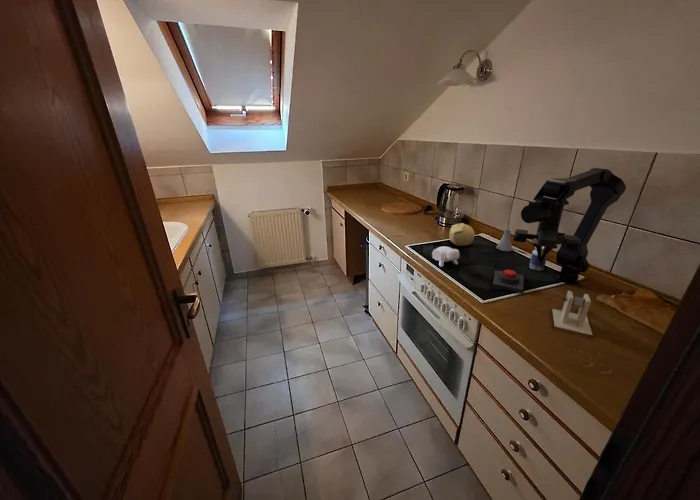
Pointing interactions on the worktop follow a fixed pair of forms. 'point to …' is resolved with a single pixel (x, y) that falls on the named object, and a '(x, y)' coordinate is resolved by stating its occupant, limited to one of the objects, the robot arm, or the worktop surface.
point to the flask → (505, 241)
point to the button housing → (508, 282)
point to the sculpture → (461, 234)
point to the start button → (509, 273)
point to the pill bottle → (537, 261)
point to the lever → (577, 301)
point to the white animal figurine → (445, 255)
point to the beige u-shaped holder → (573, 316)
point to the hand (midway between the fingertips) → (539, 261)
